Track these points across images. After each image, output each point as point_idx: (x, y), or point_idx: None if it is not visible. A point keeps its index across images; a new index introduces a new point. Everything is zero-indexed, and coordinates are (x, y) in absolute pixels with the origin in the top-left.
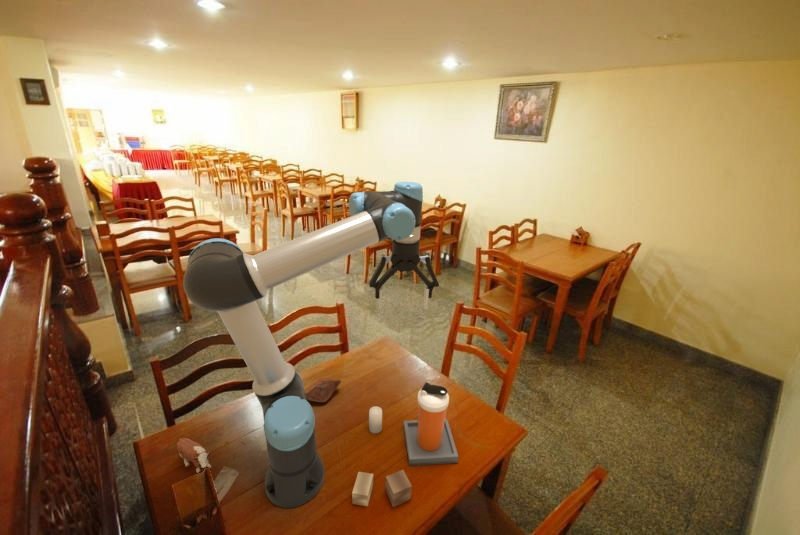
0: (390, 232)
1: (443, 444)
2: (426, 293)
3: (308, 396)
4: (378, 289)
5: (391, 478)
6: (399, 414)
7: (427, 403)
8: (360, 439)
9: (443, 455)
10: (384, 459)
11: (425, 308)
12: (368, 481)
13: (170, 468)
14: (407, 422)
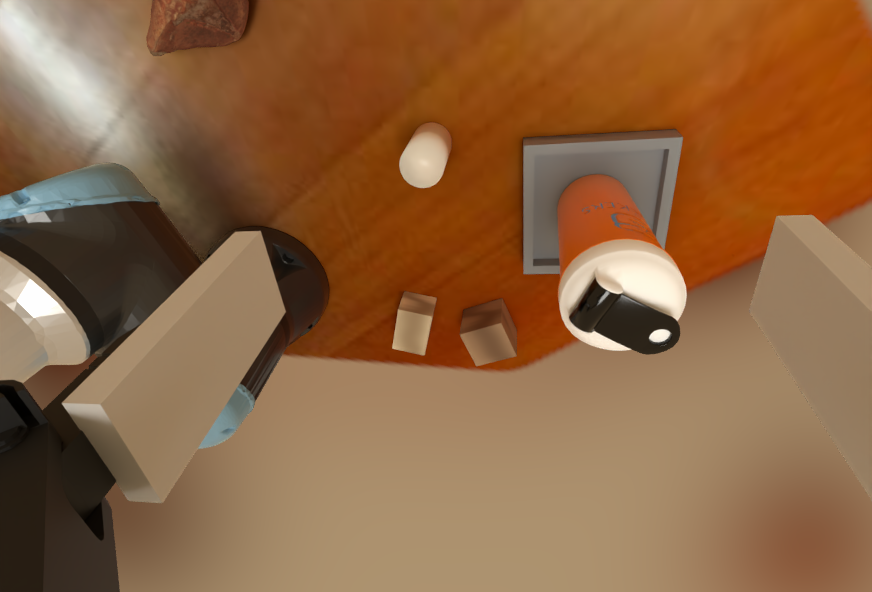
0: None
1: None
2: (865, 484)
3: (170, 51)
4: (106, 471)
5: (472, 339)
6: (514, 80)
7: (586, 342)
8: (392, 182)
9: None
10: (461, 243)
11: (759, 316)
12: (422, 330)
13: None
14: (534, 153)
